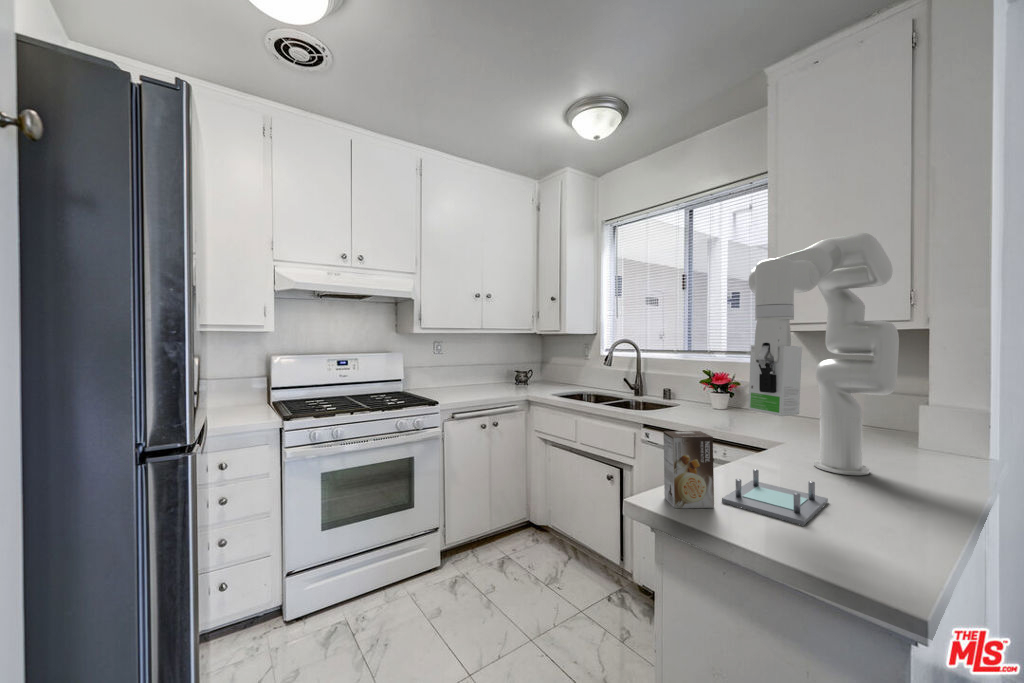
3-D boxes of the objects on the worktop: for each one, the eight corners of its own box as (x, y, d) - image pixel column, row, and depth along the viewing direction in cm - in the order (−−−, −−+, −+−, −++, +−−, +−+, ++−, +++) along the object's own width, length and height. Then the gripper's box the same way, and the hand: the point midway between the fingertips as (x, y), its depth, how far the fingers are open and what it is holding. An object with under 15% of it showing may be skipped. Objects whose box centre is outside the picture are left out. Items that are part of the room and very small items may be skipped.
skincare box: (747, 410, 98) (747, 344, 98) (766, 408, 100) (766, 344, 100) (783, 416, 90) (783, 345, 90) (802, 414, 93) (802, 344, 93)
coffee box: (701, 497, 99) (701, 430, 99) (714, 508, 92) (714, 436, 92) (663, 497, 99) (662, 430, 99) (673, 509, 92) (673, 437, 92)
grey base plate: (752, 484, 107) (751, 479, 107) (827, 502, 95) (827, 497, 95) (721, 502, 96) (721, 497, 96) (803, 526, 83) (803, 520, 83)
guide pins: (754, 484, 104) (754, 468, 104) (815, 499, 94) (815, 482, 94) (734, 496, 96) (734, 479, 96) (799, 514, 87) (799, 495, 87)
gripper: (769, 315, 103) (769, 386, 104) (741, 313, 92) (741, 392, 92) (805, 314, 98) (805, 389, 98) (779, 311, 86) (779, 396, 87)
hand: (774, 390), depth 95 cm, fingers closed on skincare box, 7 cm apart
